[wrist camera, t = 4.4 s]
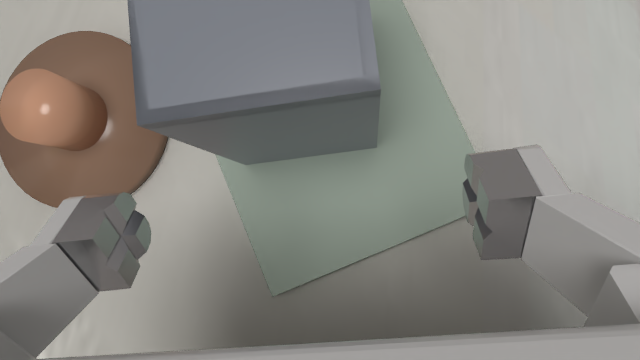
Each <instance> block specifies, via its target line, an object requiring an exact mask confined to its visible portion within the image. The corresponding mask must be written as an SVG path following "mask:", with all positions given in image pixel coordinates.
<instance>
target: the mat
mask: <svg viewBox="0 0 640 360" xmlns="http://www.w3.org/2000/svg"><path fill="white" fill-rule="evenodd" d="M369 2H370V9H371V17H372V25H373V32H374V40H375V48H376V55H377V63H378V71H379V78H380V86H381V95H380V109H379V123H378V137H377V148H372V149H364V150H356V151H349V152H341V153H334V154H326V155H318V156H311V157H303V158H296V159H288V160H280V161H273V162H265V163H258V164H250V165H244V164H241V163H238V162H236V161H233V160H230V159H227V158H225V157H222V156H219V155H216V154H215V155H216V157H217V160H218V162H219V165H220V167H221V170H222V172H223V175H224V177H225V180H226V182H227V185H228V187H229V190H230V192H231V195H232V197H233V200H234V202H235V205H236V207H237V210H238V212H239V215H240V217H241V220H242V222H243V225H244V227H245V230H246V232H247V235H248V237H249V240H250V242H251V245H252V247H253V250H254V252H255V255H256V257H257V260H258V262H259V265H260V267H261V270H262V272H263V275H264V277H265V280H266V282H267V285H268V287H269V290H270V292H271V295H272V297H273V296H276V295H278V294H281V293H283V292H285V291H288V290H290V289H292V288H295V287H297V286H300V285H302V284H304V283H307V282H309V281H312V280H314V279H316V278H319V277H321V276H323V275H326V274H328V273H331V272H333V271H335V270H338V269H340V268H343V267H345V266H347V265H350V264H352V263H354V262H357V261H359V260H362V259H364V258H366V257H369V256H371V255H374V254H376V253H378V252H381V251H383V250H385V249H388V248H390V247H393V246H395V245H397V244H400V243H402V242H405V241H407V240H409V239H412V238H414V237H416V236H419V235H421V234H424V233H426V232H428V231H431V230H433V229H436V228H438V227H440V226H443V225H445V224H447V223H450V222H452V221H455V220H457V219H459V218H462V217H464V216H466V215H465V211H464V206H463V196H462V190H463V182H464V181H465V180H466V179H467V175H466V172H465V170H464V163H465V157H466V154H471V153H475V151H474V149H473V147H472V145H471V143H470V141H469V139H468V136H467V134H466V132H465V130H464V128H463V126H462V124H461V122H460V120H459V118H458V116H457V114H456V112H455V110H454V107H453V105H452V103H451V101H450V99H449V97H448V95H447V93H446V91H445V89H444V87H443V85H442V83H441V80H440V78H439V76H438V74H437V72H436V70H435V68H434V66H433V64H432V62H431V60H430V58H429V56H428V54H427V51H426V49H425V47H424V45H423V43H422V41H421V39H420V37H419V35H418V33H417V31H416V29H415V27H414V24H413V22H412V20H411V18H410V16H409V14H408V12H407V10H406V8H405V6H404V4H403V2H402V0H369Z"/></svg>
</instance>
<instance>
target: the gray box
mask: <svg viewBox="0 0 640 360" xmlns="http://www.w3.org/2000/svg"><path fill="white" fill-rule="evenodd" d="M128 13H129V26H130V40H131V53H132V66H133V80H134V93H135V106H136V120H137V126H140V127H143V128H145V129H148V130H151V131H154V132H156V133H159V134H162V135H165V136H167V137H170V138H173V139H175V140H178V141H181V142H184V143H186V144H189V145H192V146H195V147H197V148H200V149H203V150H206V151H208V152H211V153H214V154H216V155H219V156H222V157H225V158H227V159H230V160H233V161H236V162H238V163H241V164H244V165H250V164H258V163H265V162H273V161H280V160H288V159H296V158H303V157H311V156H318V155H326V154H334V153H341V152H349V151H356V150H364V149H372V148H377V137H378V123H379V109H380V95H381V86H380V78H379V71H378V63H377V55H376V48H375V40H374V32H373V25H372V17H371V9H370V2H369V0H128Z"/></svg>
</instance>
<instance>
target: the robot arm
mask: <svg viewBox="0 0 640 360" xmlns="http://www.w3.org/2000/svg"><path fill="white" fill-rule="evenodd" d="M464 170H465V172H466V175H467V179H466V180H465V181H464V182H463V190H462V196H463V206H464V211H465V215H466V218H467V221H468V223H470V224H471V225H472V226H474V230H473V239H474V242H475V245H476V248H477V250H478V253H479V256H480V259H481V260H490V259H508V258H521V260H522V261H523V262H525V263H526V264H527V265H528V266H529V267H530V268H532V269H533V270H534V271H535V272H536V273H537V274H539V275H540V276H541V277H542V278H543V279H544V280H546V281H547V282H548V283H549V284H550V285H551V286H553V287H554V288H555V289H556V290H557V291H558V292H560V293H561V294H562V295H563V296H564V297H565V298H567V299H568V300H569V301H570V302H571V303H572V304H574V305H575V306H576V307H577V308H578V309H579V310H581V311H582V312H583V313H584V314H585V315H586V316H588V318H587V321H586V323H585V325H584V327H573V328H556V329H539V330H522V331H505V332H488V333H471V334H454V335H437V336H420V337H404V338H387V339H371V340H354V341H338V342H321V343H305V344H288V345H271V346H254V347H237V348H219V349H202V350H185V351H168V352H150V353H134V354H117V355H100V356H83V357H66V358H49V359H36V357H37V356H38V355H39V354H40V353H41V352H42V351H43V350H44V349H45V348H46V347H47V346H48V345H49V344H50V343H51V342H52V341H53V340H54V339H55V338H56V337H57V336H58V335H59V334H60V333H61V332H62V331H63V330H64V328H65V327H66V326H67V325H68V324H69V323H70V322H71V321H72V320H73V319H74V318H75V317H76V316H77V315H78V314H79V313H80V312H81V311H82V310H83V309H84V308H85V307H86V306H87V305H88V304H89V303H90V302H91V301H92V300H93V299H94V298H95V297H96V296H97V295H98V294H99V293H98V292H100V291H109V290H118V289H127V288H131V286H132V284H133V281H134V279H135V277H136V275H137V272H138V270H139V268H140V264H139V261H138V259H139V258H140V257H141V256H142V255H143V254H145V253H146V252H147V250H148V247H149V245H150V241H151V230H150V226H149V223H148V221H147V219H146V218H145V216H144V215H142V214H140V213H139V212H137V211H135V208H136V204H137V203H136V202H135V200H134V199H133V197H132V196H131V195H130V194H129V193H125V192H119V193H108V194H97V195H88V196H77V197H69V198H67V199H65V200H63V201H62V203H61V204H60V205H59V207H58V208H57V209H56V211H55V212H54V214H53V215H52V216H51V218H50V219H49V220H48V222H47V223H46V224H45V226H44V227H43V228H42V230H41V231H40V233H39V234H38V235H37V237H36V238H35V239H34V241H33V242H32V243H31V245H30V246H26V247H23V248H21V249H20V250H18V251H17V252H15V253H14V254H12V255H11V256H9V257H8V258H6V259H5V260H3V261H2V262H0V360H640V223H638V222H636V221H634V220H633V219H631V218H629V217H627V216H625V215H623V214H621V213H619V212H617V211H615V210H613V209H611V208H609V207H607V206H605V205H603V204H601V203H599V202H597V201H595V200H593V199H591V198H589V197H587V196H585V195H583V194H581V193H571V191H570V190H569V188H568V187H567V185H566V183H565V182H564V180H563V179H562V177H561V176H560V174H559V173H558V171H557V170H556V168H555V167H554V165H553V164H552V162H551V161H550V159H549V158H548V156H547V155H546V153H545V152H544V150H543V149H542V147H540V146H539V145H531V146H524V147H516V148H513V149H505V150H497V151H488V152H480V153H471V154H466V157H465V163H464Z"/></svg>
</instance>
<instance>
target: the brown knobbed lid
mask: <svg viewBox="0 0 640 360" xmlns="http://www.w3.org/2000/svg"><path fill="white" fill-rule="evenodd" d="M167 138H168V137H167V136H165V135H162V134H159V133H156V132H154V131H151V130H148V129H145V128H143V127H140V126H137V120H136V106H135V93H134V80H133V66H132V53H131V46H130V45H129V44H127V43H126V42H124V41H122V40H121V39H118V38H116V37H114V36H112V35H108V34H105V33H101V32H93V31H78V32H71V33H67V34H63V35H60V36H57V37H55V38H52V39H50V40H48V41H46V42H45V43H43V44H41V45H40V46H38V47H37V48H36V49H34V50H33V51H32V52H30V53H29V54H28V55H27V56H26V57H25V58H24V59H23V60H22V61H21V63H20V64H19V65H18V66H17V67H16V69H15V70H14V72H13V73H12V75H11V76H10V78H9V80H8V82H7V84H6V86H5V88H4V90H3V93H2V96H1V99H0V155H1V157H2V160H3V162H4V165H5V167H6V169H7V170H8V172H9V174H10V176H11V177H12V178H13V180H14V181H15V182H16V184H17V185H18V186H19V187H20V188H21V189H22V190H23V191H24V192H26V193H27V194H28V195H30V196H31V197H32V198H34V199H36V200H38V201H40V202H42V203H44V204H47V205H49V206H52V207H56V208H58V207H59V205H60V204H61V203H62V201H63V200H65V199H67V198H69V197H77V196H88V195H97V194H108V193H119V192H125V193H129V194H131V193H132V192H134V191H135V190H136V189H137V188H139V187H140V186H141V185H142V184H143V183H144V182H145V181H146V179H147V178H148V177H149V176H150V175H151V173H152V172H153V170H154V169H155V167H156V166H157V164H158V162H159V160H160V158H161V156H162V154H163V151H164V148H165V145H166V143H167Z"/></svg>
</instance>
